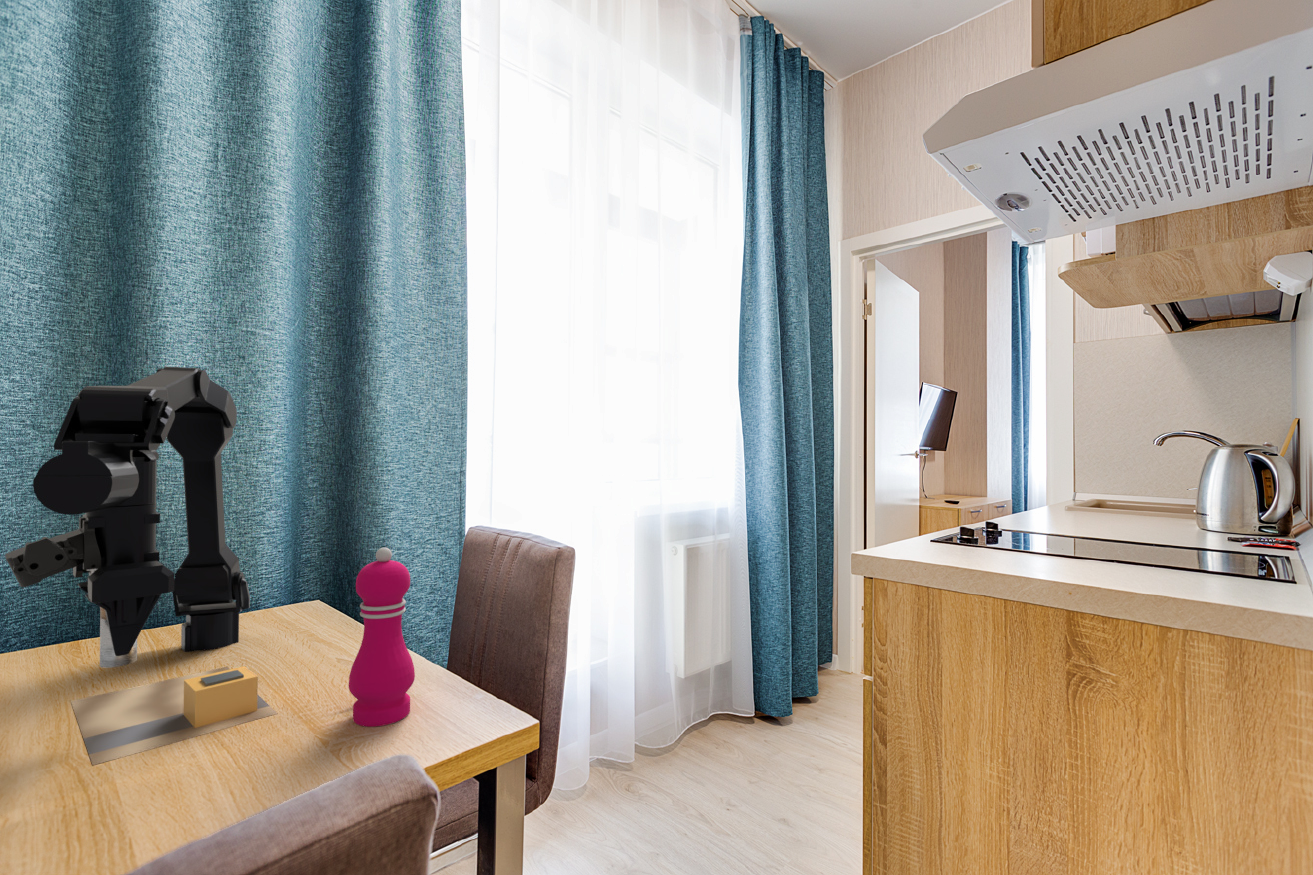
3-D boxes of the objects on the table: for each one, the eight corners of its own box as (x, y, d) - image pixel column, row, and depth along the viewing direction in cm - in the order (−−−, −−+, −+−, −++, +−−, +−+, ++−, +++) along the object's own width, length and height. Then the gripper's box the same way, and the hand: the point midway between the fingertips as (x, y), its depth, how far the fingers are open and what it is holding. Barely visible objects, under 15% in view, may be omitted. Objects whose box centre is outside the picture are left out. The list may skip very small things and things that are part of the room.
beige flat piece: (227, 673, 87) (227, 666, 87) (277, 721, 72) (278, 713, 72) (70, 709, 75) (70, 700, 75) (92, 775, 60) (92, 765, 60)
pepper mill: (427, 707, 76) (429, 544, 76) (383, 733, 69) (385, 554, 69) (380, 699, 78) (382, 541, 79) (333, 723, 72) (335, 550, 72)
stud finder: (243, 698, 76) (244, 663, 76) (257, 710, 73) (257, 673, 73) (183, 714, 71) (183, 677, 71) (194, 727, 68) (195, 688, 68)
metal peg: (134, 655, 68) (135, 596, 68) (139, 662, 66) (140, 601, 66) (97, 662, 66) (98, 601, 66) (101, 669, 64) (102, 606, 64)
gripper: (9, 503, 66) (7, 649, 66) (16, 518, 54) (13, 699, 54) (143, 497, 75) (141, 626, 74) (176, 509, 62) (174, 665, 62)
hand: (119, 651), depth 66 cm, fingers closed on metal peg, 3 cm apart
